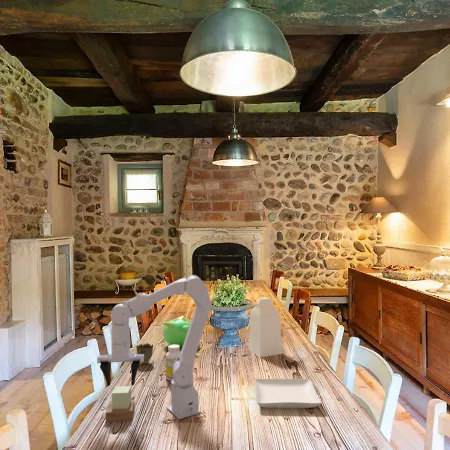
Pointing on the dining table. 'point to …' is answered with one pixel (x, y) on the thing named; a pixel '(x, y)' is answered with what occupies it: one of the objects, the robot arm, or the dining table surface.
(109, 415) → the walnut block
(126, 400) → the green cube
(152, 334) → the dining table surface
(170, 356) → the supplement bottle
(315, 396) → the salad plate
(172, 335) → the green rounded piece
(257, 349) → the milk
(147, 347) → the cup
